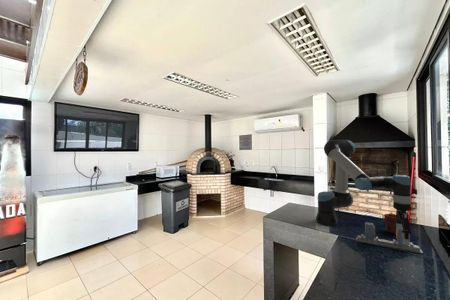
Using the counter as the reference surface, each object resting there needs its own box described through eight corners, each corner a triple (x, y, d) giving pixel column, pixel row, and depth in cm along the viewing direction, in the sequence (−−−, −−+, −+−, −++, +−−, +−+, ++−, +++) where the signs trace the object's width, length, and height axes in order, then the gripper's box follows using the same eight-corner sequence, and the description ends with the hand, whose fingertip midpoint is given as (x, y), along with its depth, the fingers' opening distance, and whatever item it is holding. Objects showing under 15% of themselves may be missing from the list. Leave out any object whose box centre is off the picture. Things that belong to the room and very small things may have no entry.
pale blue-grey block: (406, 243, 111) (406, 227, 111) (408, 246, 107) (408, 230, 107) (396, 241, 113) (395, 226, 113) (397, 244, 110) (397, 228, 110)
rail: (356, 241, 119) (355, 223, 119) (355, 238, 124) (355, 220, 124) (423, 254, 104) (422, 232, 104) (420, 249, 108) (419, 229, 108)
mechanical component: (396, 229, 135) (406, 236, 125) (380, 228, 137) (389, 235, 127) (395, 212, 134) (406, 217, 125) (379, 211, 136) (388, 216, 127)
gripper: (388, 196, 123) (389, 229, 123) (398, 207, 101) (399, 247, 101) (404, 198, 119) (405, 232, 119) (418, 209, 97) (419, 251, 97)
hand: (402, 239), depth 110 cm, fingers open, 13 cm apart
